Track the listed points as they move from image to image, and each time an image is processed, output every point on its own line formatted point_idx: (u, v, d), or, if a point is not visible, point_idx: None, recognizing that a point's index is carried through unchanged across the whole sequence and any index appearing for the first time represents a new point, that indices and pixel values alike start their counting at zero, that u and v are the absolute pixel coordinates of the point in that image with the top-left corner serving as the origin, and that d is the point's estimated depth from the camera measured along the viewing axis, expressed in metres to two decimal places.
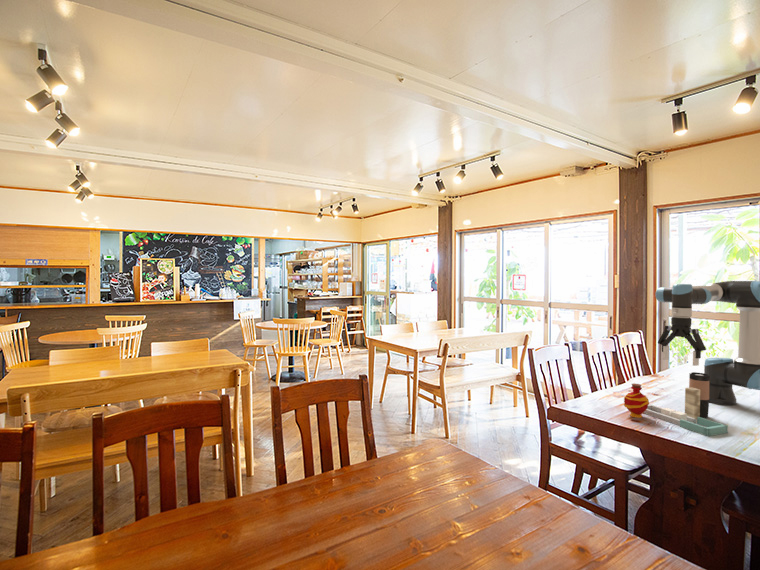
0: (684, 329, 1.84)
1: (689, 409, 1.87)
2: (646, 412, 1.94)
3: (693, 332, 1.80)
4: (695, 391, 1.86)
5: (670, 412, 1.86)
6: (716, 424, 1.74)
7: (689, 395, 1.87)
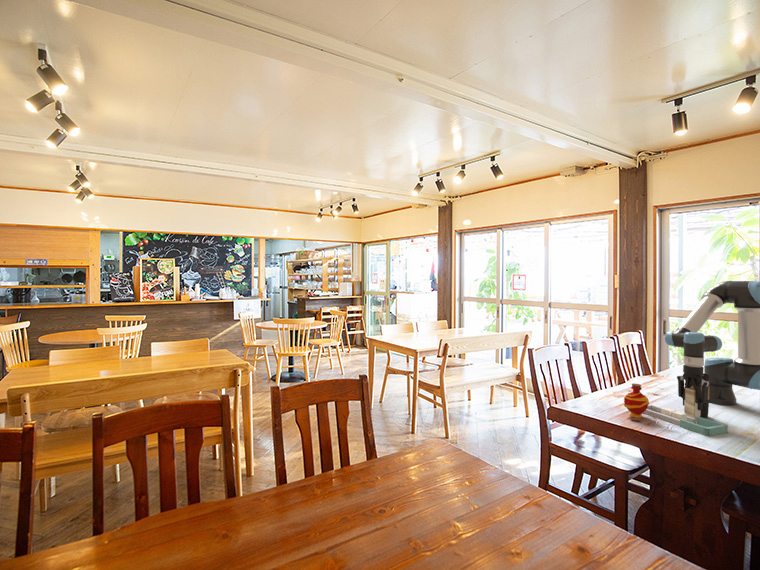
0: (697, 377, 1.85)
1: (689, 409, 1.87)
2: (646, 412, 1.94)
3: (704, 385, 1.82)
4: None
5: (670, 412, 1.86)
6: (716, 424, 1.74)
7: (689, 395, 1.87)
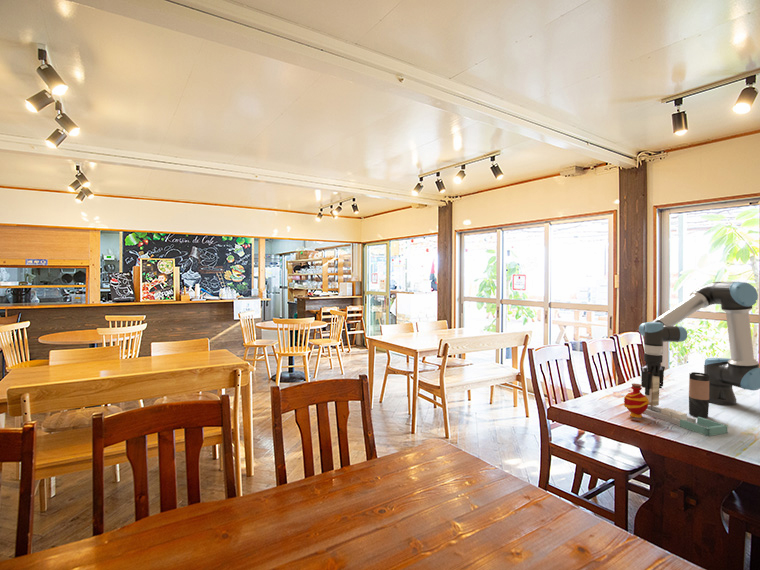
0: None
1: None
2: (646, 412, 1.94)
3: None
4: None
5: (670, 412, 1.86)
6: (716, 424, 1.74)
7: None
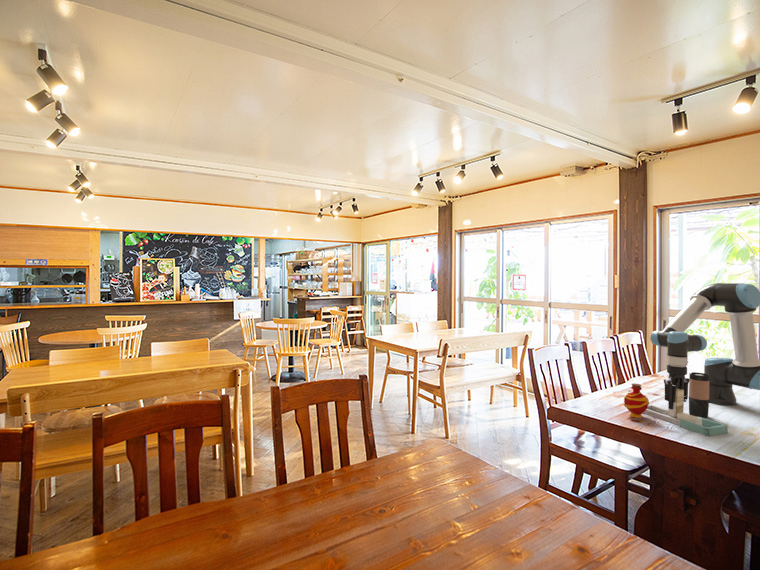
0: None
1: None
2: (646, 412, 1.94)
3: None
4: None
5: None
6: (716, 424, 1.74)
7: None
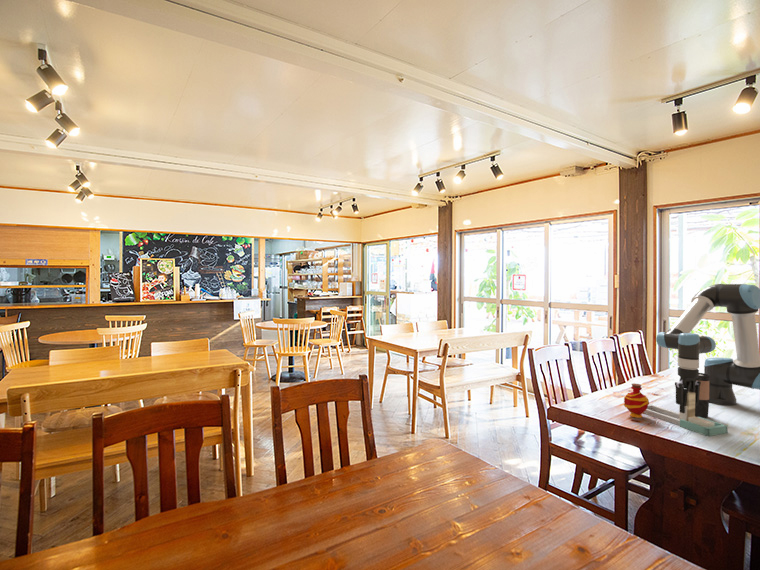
0: None
1: None
2: (646, 412, 1.94)
3: None
4: None
5: None
6: (716, 424, 1.74)
7: None
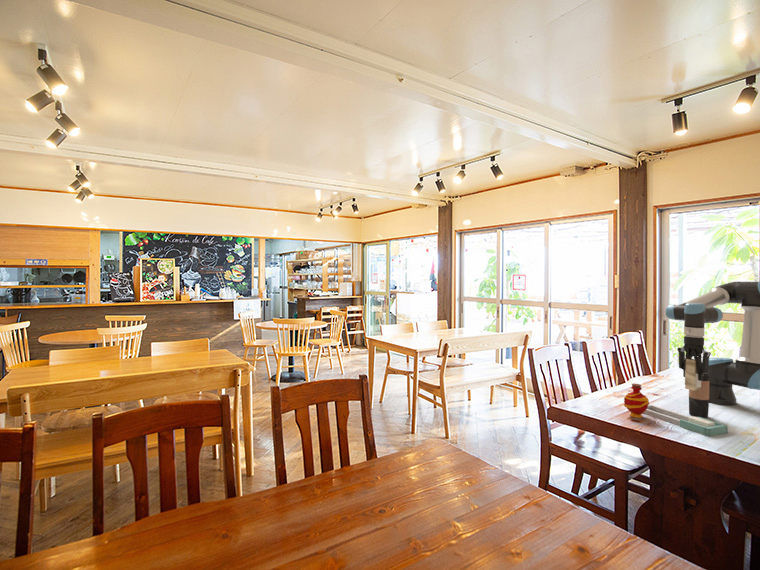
0: (697, 348, 1.85)
1: (690, 380, 1.87)
2: (646, 412, 1.94)
3: (704, 355, 1.82)
4: None
5: None
6: (716, 424, 1.74)
7: (690, 366, 1.87)
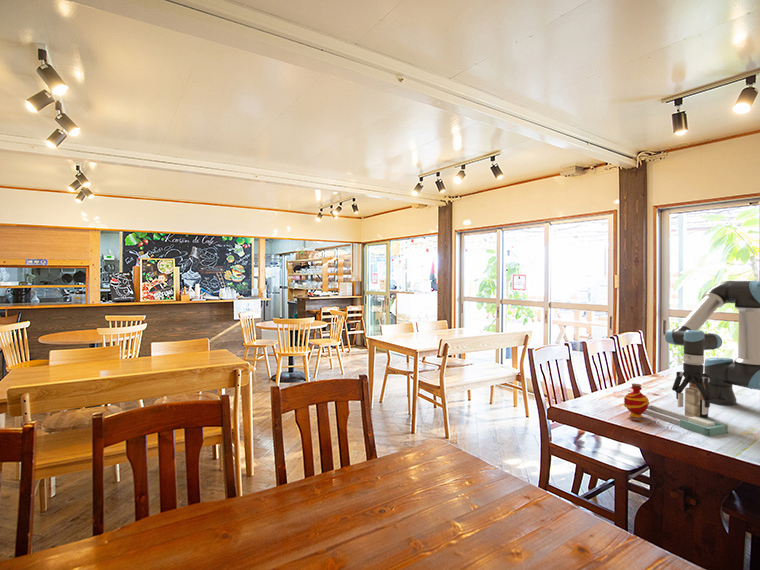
0: (696, 376, 1.85)
1: (689, 409, 1.87)
2: (646, 412, 1.94)
3: (705, 381, 1.82)
4: (695, 391, 1.86)
5: None
6: (716, 424, 1.74)
7: (689, 395, 1.87)
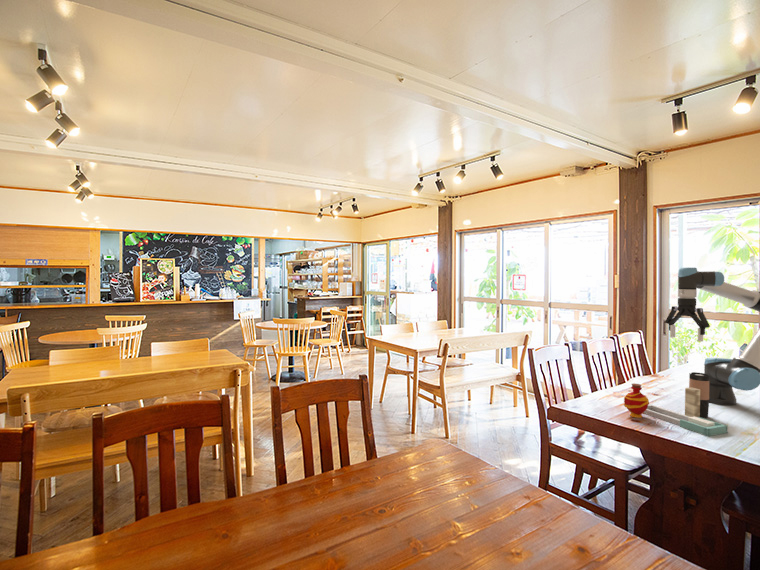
0: (689, 308, 2.01)
1: (689, 409, 1.87)
2: (646, 412, 1.94)
3: (698, 311, 1.98)
4: (695, 391, 1.86)
5: None
6: (716, 424, 1.74)
7: (689, 395, 1.87)
